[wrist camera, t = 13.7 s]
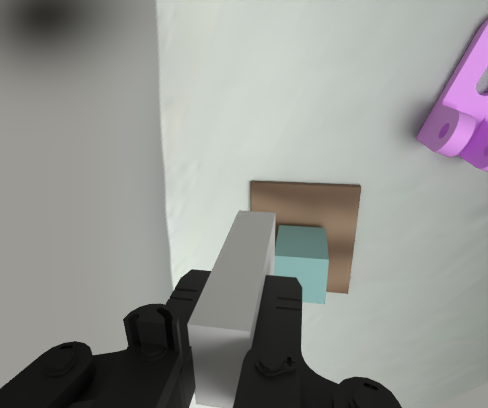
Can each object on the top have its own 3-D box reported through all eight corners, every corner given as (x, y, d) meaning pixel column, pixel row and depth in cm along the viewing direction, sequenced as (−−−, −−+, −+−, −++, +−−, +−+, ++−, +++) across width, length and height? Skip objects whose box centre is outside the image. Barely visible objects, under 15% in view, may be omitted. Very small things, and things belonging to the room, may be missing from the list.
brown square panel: (251, 180, 39) (239, 207, 32) (360, 184, 37) (372, 214, 30) (252, 281, 45) (242, 323, 38) (347, 289, 43) (354, 335, 36)
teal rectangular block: (279, 225, 39) (273, 255, 33) (325, 227, 38) (329, 259, 32) (278, 263, 41) (273, 299, 35) (322, 267, 40) (324, 304, 34)
